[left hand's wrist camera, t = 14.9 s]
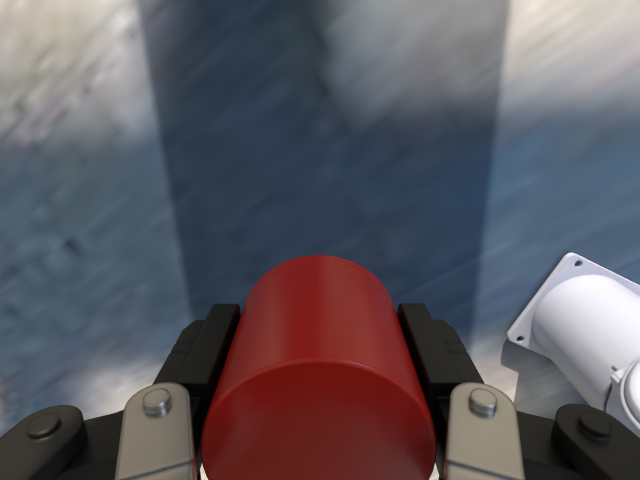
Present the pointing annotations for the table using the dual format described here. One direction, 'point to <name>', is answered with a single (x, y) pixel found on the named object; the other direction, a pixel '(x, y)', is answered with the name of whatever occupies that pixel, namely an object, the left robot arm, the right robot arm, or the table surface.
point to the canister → (318, 383)
